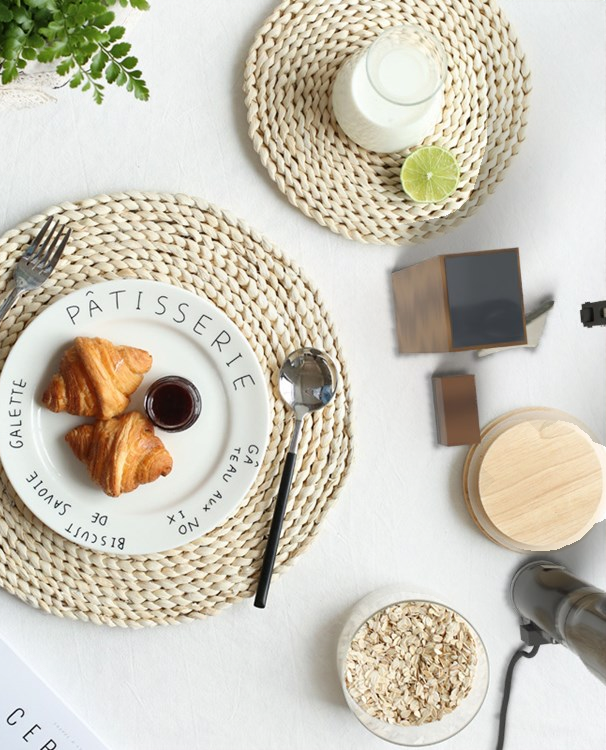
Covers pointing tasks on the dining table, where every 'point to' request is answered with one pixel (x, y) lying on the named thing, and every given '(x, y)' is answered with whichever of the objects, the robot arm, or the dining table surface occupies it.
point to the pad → (484, 299)
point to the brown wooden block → (456, 410)
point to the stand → (433, 306)
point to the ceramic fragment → (528, 328)
